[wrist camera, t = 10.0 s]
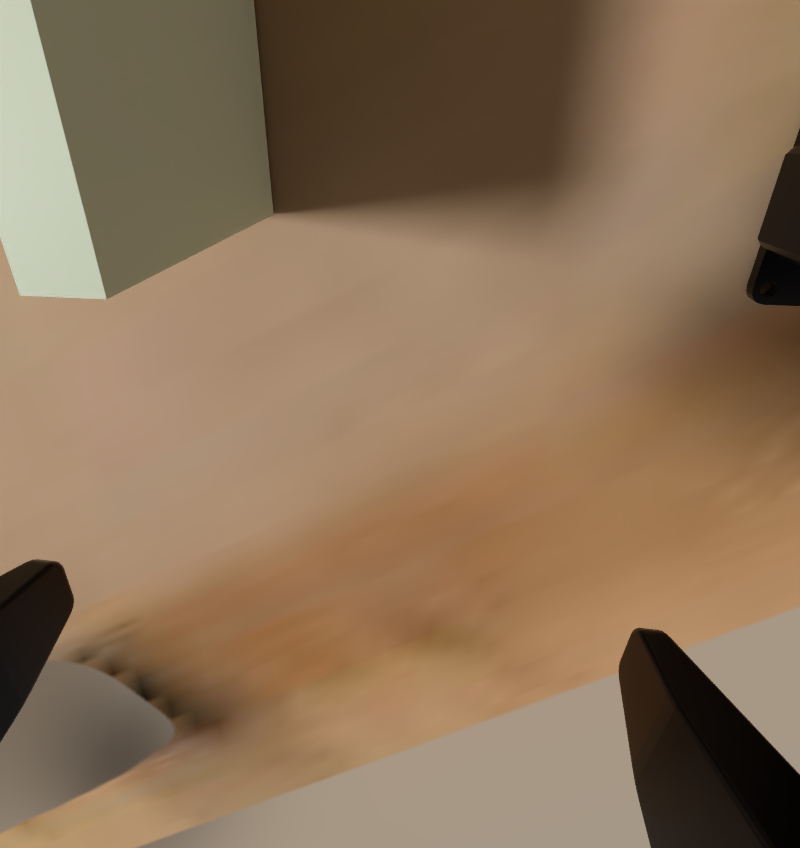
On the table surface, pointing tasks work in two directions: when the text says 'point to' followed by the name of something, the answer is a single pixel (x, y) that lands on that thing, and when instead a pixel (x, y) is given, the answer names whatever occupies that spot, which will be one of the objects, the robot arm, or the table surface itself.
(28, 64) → the board
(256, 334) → the table surface
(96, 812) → the table surface
